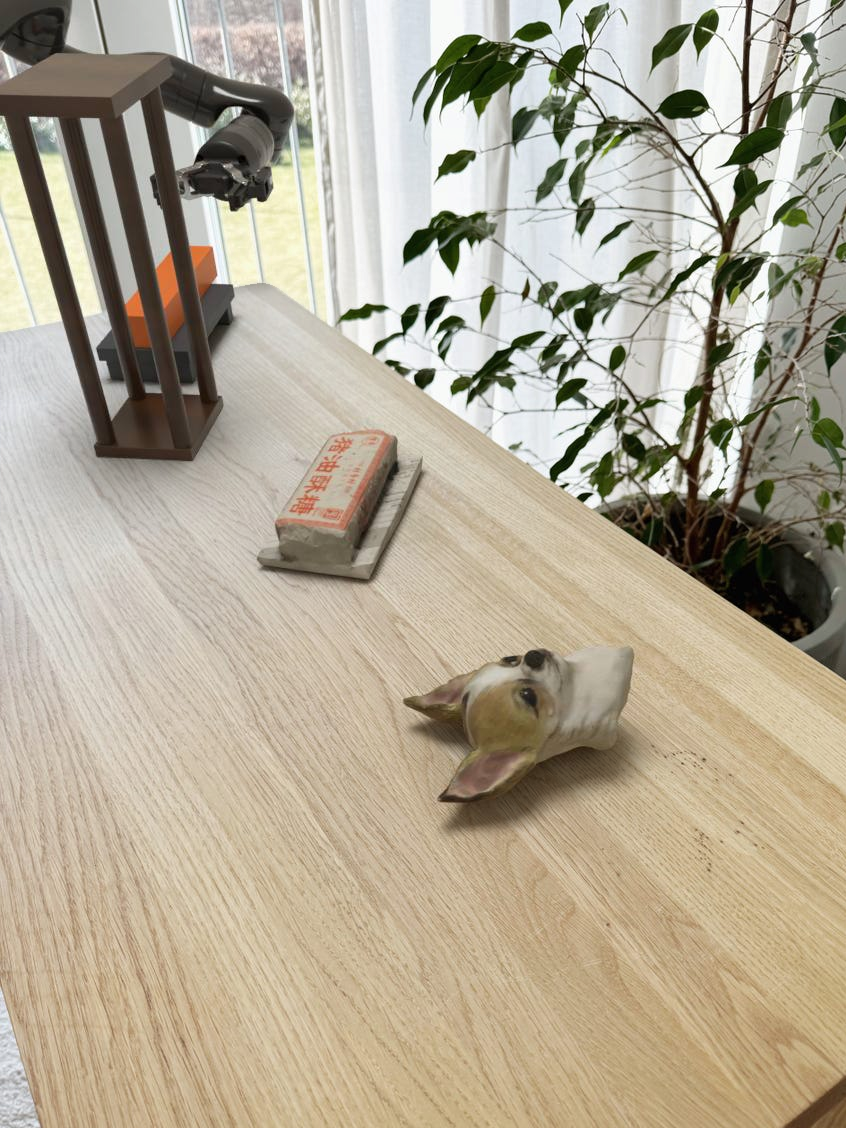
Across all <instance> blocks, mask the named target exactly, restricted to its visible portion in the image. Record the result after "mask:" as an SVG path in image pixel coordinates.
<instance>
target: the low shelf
mask: <svg viewBox="0 0 846 1128" xmlns="http://www.w3.org/2000/svg"><path fill="white" fill-rule="evenodd" d="M235 297H236V293H235V287H234V284H231V283H212V284H211V285H210V287H209V288H208V289H207V291H206V292H205V293H204V295H203V296H202V298H201V299H200V303H201V308H202V313H203V319H204V324H205V329H206V335H207V339H208V338H209V336H210V335H211V333H212V332H213V331H214V329H215V328H216V326H217V325H231V323H232V322H233V320H234V313H233V308H232V301H234V299H235ZM171 343H172V348H173V353H174V357H175V362H176V367H177V371H178V376H179V381H180V383H190V384H193V383H194V382H195V381H196V380H197V379H196V374H195V369H194V364H193V359H192V354H191V349H190V344H189V340H188V335H187V330H186V325H185V321H184V323H183V324H182V325H181V327H180V328H179V329H178V331H177V332H176V334H175V335H174V336H173V338H172V339H171ZM135 348H136V352H137V356H138V360H139V364H140V369H141V373H142V377H143V381H145V382H159V379H158V374H157V370H156V366H155V361H154V357H153V352H152V348H140V347H135ZM95 351H96V354H97V358H98V361H100V362H105V363H106V365H107V371H108V373H109V377H110V378H109V379H110V380H119V381H125V380H124V376H123V372H122V368H121V364H120V360H119V356H118V352H117V348H116V344H115V340H114V336H113V333H112V329H110V331H109V332H108V333H107V334H106V335H105V336H104V337H103V339H102V340H101V341H100V342H99V343H98V344H97V346H96V347H95Z"/></svg>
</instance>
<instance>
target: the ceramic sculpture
mask: <svg viewBox="0 0 846 1128" xmlns="http://www.w3.org/2000/svg"><path fill="white" fill-rule="evenodd" d="M634 659H635V651H634V649H633V647H632V646H622V647H615V646H607V645H602V644H601V645H600V644H599V645H593V646H590V647H584V648H580V649H577V650H575V651H573V652H572V653H570V654H568V655H566V656H564V657H563V656H562V655H561V654H560V653H559V652H557V651H555V650H548V649H547V648H545V647H535V648H531V649H530V650H528V651H527V652H526V653H525V654H524V655H521V654H517V655H508V656H507V655H506V656H503V657H500V659H499V660H498V661H490V662H486V663H484V664H482V666H480V667H479V668H478V669H474V670H472V671H470V672H468V673H462V674H458V675H456V676H455V677H453V678H451V679H449V680H448V681H447V683H445V684H441V685H439V686H437V687H436V688H434V689H433V690H431V691H430V692H428V693H425V694H422V695H412V696H409V697H405V698H403V699H402V703H403V704H404V705H405V706H406V707H407V708H409V709H411V710H414V711H415V712H418V713H420V714H422V715H423V716H425V717H428V718H429V719H433V720H435V721H437V722H440V723H442V724H455V723H461V722H462V728H463V733H464V735H465V737H466V740H467V742H469V744H470V746H471V747H472V749H474V750H473V751H471V752H470V753H469V754H468V755H467V756H466V757H464V759H463V760H462V761H461V762H460V763H459V765H458V766H457V768H456V771H455V773H454V775H453V776H452V778H451V780H450V781H449V783H448V785H447V787H446V788H445V790H443V791H442V792H441V793H440V794H439V795H438V797H436V800H437V802H438V803H449V804H473V803H479V802H484V801H489V800H494V799H495V798H497V797H499V796H502V795H504V794H505V793H507V792H509V791H510V790H512V788H513V787H515V786H516V785H517V784H518V783H519V782H521V780H522V779H523V778H525V777H526V776H527V775H529V773H531V772H532V771H533V769H535V767H536V765H537V764H538V763H541V762H543V761H546V760H549V759H550V758H552V757H555V756H558V755H561V754H563V753H566V752H569V751H571V750H574V749H576V748H579V747H587V748H593V749H594V750H596V751H597V750H598V751H605V750H609V749H610V748H612V747H613V746H614V745H615V744H616V742H617V740H618V736H619V735H618V722H619V720H620V719H619V718H620V715H621V714H622V712H623V710H624V709H625V707H626V704H627V703H628V699H629V693H630V691H631V681H632V678H633V668H634Z"/></svg>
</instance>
